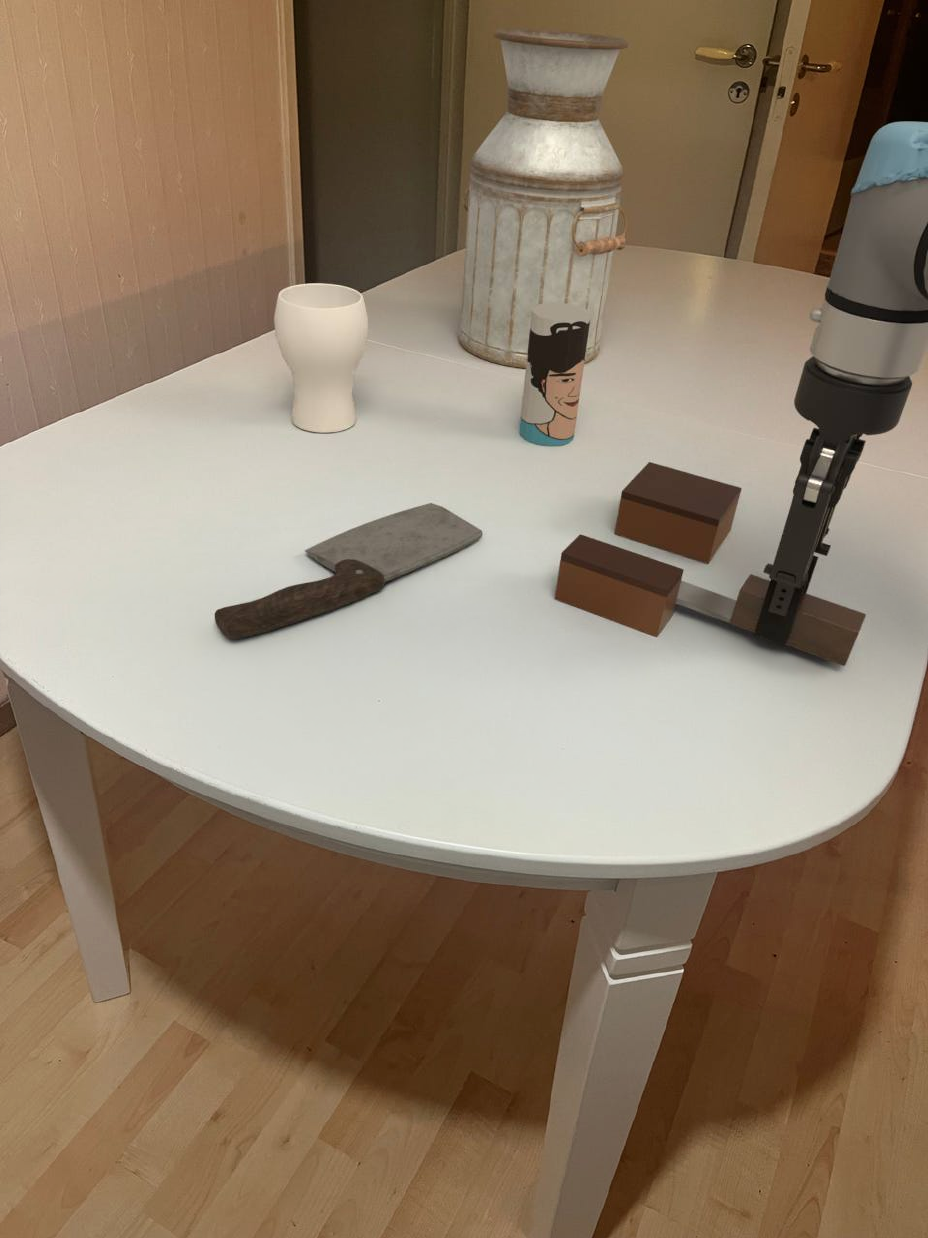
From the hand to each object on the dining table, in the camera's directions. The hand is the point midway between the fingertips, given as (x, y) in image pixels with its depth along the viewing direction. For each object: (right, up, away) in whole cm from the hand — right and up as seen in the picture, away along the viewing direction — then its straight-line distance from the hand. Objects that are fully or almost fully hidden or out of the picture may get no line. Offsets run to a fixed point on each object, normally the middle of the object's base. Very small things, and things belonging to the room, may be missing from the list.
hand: (775, 626), depth 80 cm
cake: (-5, +10, +15) cm, 19 cm away
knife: (-4, +1, +2) cm, 5 cm away
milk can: (-17, +42, +60) cm, 75 cm away
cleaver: (-38, +5, +6) cm, 38 cm away
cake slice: (-14, +2, +4) cm, 14 cm away
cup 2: (-17, +23, +33) cm, 44 cm away
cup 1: (-44, +25, +33) cm, 60 cm away
